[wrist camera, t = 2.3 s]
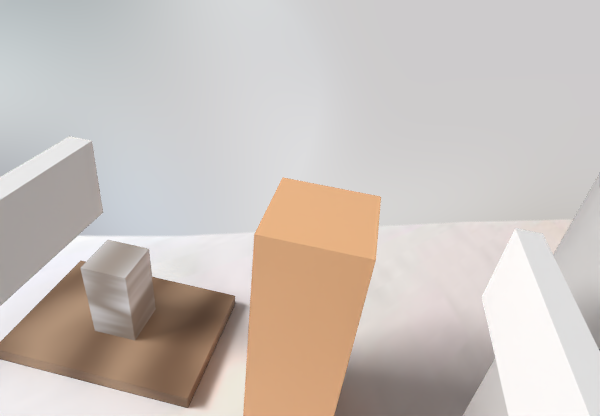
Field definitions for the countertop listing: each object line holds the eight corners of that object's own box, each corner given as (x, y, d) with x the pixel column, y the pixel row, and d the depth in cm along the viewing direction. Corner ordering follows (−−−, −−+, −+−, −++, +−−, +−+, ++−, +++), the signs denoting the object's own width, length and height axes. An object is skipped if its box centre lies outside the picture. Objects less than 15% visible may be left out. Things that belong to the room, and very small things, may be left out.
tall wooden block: (264, 359, 37) (282, 177, 27) (335, 376, 36) (380, 196, 26) (242, 428, 32) (254, 234, 22) (324, 449, 31) (375, 259, 21)
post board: (234, 304, 42) (237, 237, 37) (187, 407, 33) (183, 335, 28) (82, 269, 43) (67, 201, 39) (-3, 358, 34) (-36, 283, 30)
